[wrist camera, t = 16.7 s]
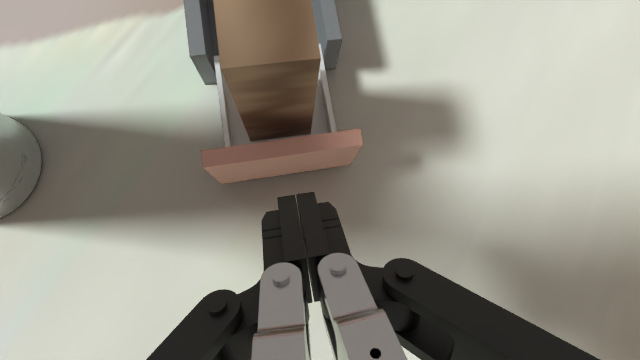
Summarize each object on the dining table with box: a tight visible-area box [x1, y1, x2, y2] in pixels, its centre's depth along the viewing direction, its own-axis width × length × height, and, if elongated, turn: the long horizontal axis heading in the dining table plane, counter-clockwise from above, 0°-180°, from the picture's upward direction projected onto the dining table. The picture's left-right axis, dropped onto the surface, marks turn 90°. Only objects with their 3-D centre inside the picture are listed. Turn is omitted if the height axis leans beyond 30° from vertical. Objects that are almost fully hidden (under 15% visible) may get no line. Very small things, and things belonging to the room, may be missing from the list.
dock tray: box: [201, 44, 363, 184], centre depth 28 cm, size 10×11×6 cm
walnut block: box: [213, 0, 321, 141], centre depth 24 cm, size 5×5×12 cm
